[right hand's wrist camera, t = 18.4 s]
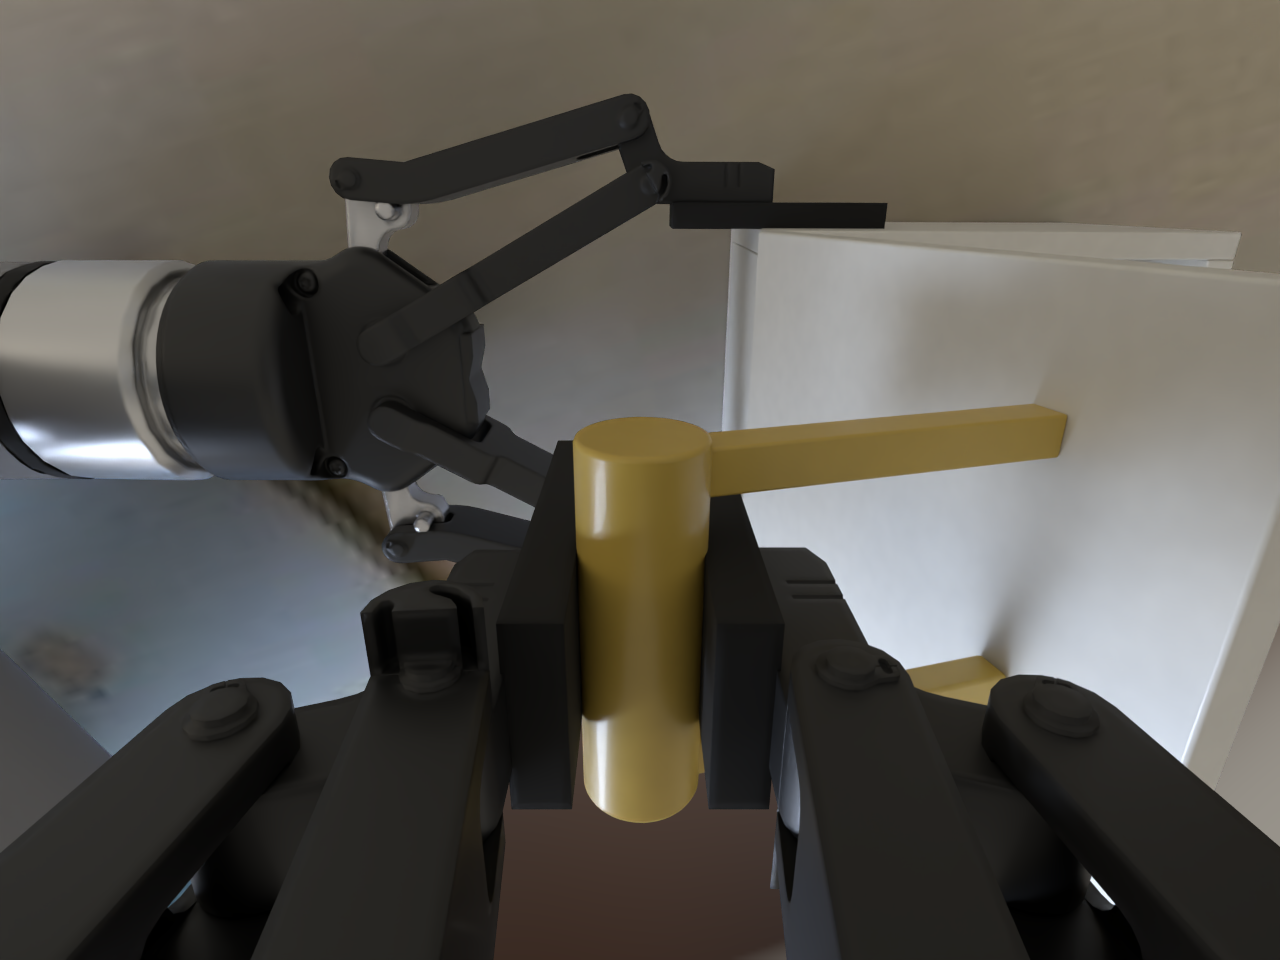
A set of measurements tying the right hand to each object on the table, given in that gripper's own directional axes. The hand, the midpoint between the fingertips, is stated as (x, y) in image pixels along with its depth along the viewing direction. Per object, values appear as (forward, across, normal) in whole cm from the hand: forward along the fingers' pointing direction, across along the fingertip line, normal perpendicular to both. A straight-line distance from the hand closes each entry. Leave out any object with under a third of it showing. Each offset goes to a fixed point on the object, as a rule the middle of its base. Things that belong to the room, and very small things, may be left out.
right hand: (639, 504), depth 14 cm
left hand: (+11, +8, 0) cm, 14 cm away
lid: (+1, +6, 0) cm, 6 cm away
